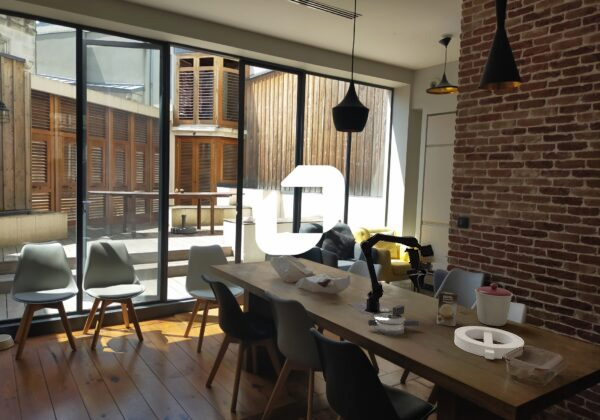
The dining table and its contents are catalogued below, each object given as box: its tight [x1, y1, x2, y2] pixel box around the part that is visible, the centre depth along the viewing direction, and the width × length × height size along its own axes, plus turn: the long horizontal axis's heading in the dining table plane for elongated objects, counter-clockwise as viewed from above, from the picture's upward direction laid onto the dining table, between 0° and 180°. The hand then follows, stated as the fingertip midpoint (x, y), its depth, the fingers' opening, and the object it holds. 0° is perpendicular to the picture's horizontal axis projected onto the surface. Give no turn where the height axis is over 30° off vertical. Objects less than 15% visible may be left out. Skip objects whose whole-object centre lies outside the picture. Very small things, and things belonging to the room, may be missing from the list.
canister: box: [474, 282, 514, 327], centre depth 227 cm, size 18×18×21 cm
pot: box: [367, 319, 419, 336], centre depth 211 cm, size 14×24×5 cm, turn 97°
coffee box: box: [436, 290, 458, 327], centre depth 224 cm, size 9×6×16 cm
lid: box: [373, 304, 407, 324], centre depth 212 cm, size 15×19×5 cm
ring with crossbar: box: [454, 325, 525, 360], centre depth 194 cm, size 28×28×5 cm
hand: (420, 288), depth 236 cm, fingers open, 9 cm apart
